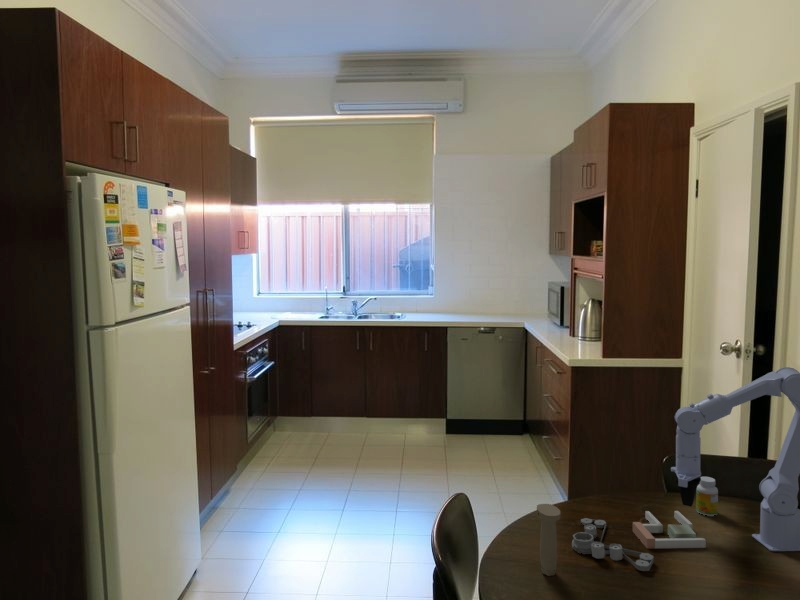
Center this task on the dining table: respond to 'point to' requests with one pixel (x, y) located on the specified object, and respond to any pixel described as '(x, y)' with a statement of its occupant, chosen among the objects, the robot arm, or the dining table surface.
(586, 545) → the pulley system
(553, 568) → the handle
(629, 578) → the dining table surface
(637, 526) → the block
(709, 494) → the supplement bottle
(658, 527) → the channel
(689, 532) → the block
